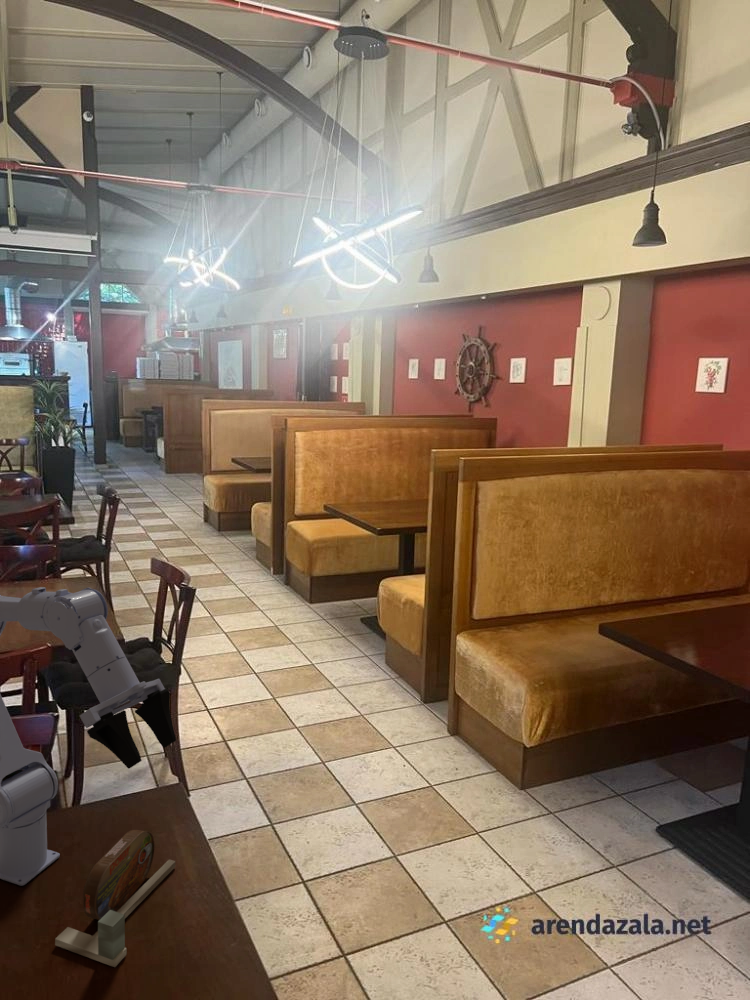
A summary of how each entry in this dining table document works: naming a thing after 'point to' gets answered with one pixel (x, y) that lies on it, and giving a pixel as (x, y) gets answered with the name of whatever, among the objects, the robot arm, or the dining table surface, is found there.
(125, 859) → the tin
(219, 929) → the dining table surface
